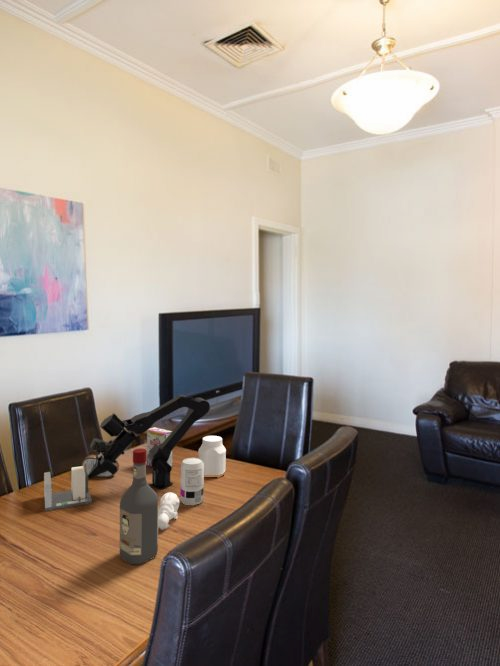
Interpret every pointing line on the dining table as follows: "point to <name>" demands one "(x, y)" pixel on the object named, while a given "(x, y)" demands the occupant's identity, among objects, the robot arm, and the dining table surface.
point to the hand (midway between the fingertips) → (88, 477)
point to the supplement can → (192, 481)
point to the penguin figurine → (167, 509)
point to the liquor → (139, 516)
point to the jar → (213, 455)
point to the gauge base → (60, 496)
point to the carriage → (79, 483)
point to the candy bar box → (157, 440)
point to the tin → (89, 464)
